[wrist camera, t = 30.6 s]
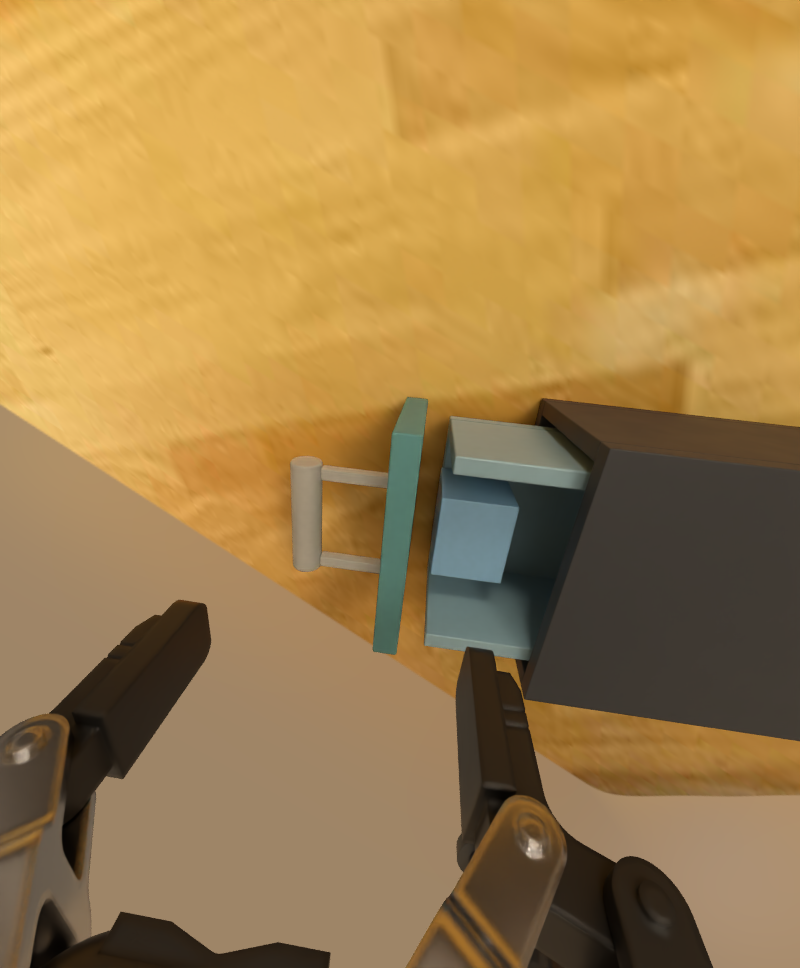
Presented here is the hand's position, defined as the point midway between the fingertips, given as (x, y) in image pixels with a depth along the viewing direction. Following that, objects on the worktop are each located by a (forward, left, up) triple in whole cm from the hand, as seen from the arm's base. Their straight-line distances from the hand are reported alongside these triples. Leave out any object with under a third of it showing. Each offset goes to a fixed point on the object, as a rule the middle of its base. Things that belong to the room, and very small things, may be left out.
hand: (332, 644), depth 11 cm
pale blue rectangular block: (0, -5, -12) cm, 12 cm away
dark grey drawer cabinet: (0, -15, -14) cm, 20 cm away
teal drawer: (0, -5, -13) cm, 13 cm away
